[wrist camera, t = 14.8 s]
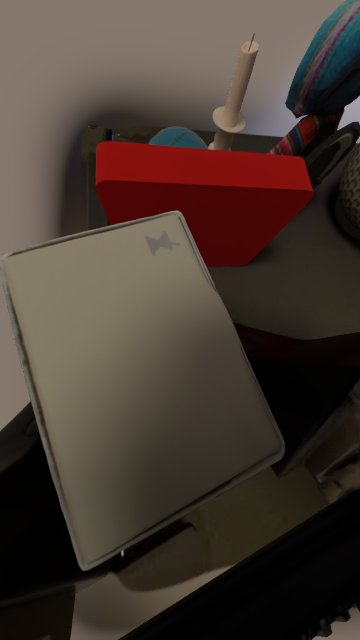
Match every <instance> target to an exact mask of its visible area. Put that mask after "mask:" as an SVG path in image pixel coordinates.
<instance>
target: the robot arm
mask: <svg viewBox="0 0 360 640" xmlns="http://www.w3.org/2000/svg"><path fill="white" fill-rule="evenodd" d="M233 325H234V327H235V330H236V332H237V335H238V337H239V340H240V342H241V344H242V347H243V349H244V352H245V354H246V356H247V359H248V361H249V363H250V365H251V368H252V370H253V372H254V374H255V376H256V379H257V381H258V383H259V385H260V388H261V390H262V392H263V394H264V396H265V399H266V401H267V403H268V406H269V408H270V410H271V412H272V415H273V417H274V419H275V422H276V424H277V426H278V428H279V430H280V433H281V435H282V437H283V439H284V442H285V452H284V455H283V457H282V459H281V460H279V461H277V462H276V463H274V464H272V465H271V468H272V469H273V471H274V472H275V474H276V475H277V477H278V478H281V477H283V476H285V475H287V474H288V473H290V472H292V471H294V470H296V469H297V468H299V467H301V466H303V465H304V466H305V467H306V468H307V470H308V471H309V472H310V474H311V475H312V476H313V478H314V479H315V480H316V482H317V483H318V485H317V487H318V489H319V490H320V492H321V493H322V494H323V496H324V497H325V498H326V500H327V501H328V502H329V504H330V505H329V506H327V507H325V508H324V509H322V510H321V511H319V512H318V513H316V514H314V515H313V516H311V517H310V518H308V519H307V520H305V521H303V522H302V523H300V524H299V525H297V526H296V527H294V528H293V529H291V530H289V531H288V532H286V533H285V534H283V535H282V536H280V537H278V538H277V539H275V540H274V541H272V542H271V543H269V544H267V545H266V546H264V547H263V548H261V549H260V550H258V551H256V552H255V553H253V554H252V555H250V556H249V557H247V558H245V559H244V560H242V561H241V562H239V563H238V564H236V565H234V566H233V567H231V568H230V569H228V570H227V571H225V572H224V573H222V574H220V575H219V576H217V577H216V578H214V579H213V580H211V581H209V582H208V583H206V584H205V585H203V586H201V587H200V588H198V589H197V590H195V591H194V592H192V593H190V594H189V595H188V596H186V597H184V598H183V599H181V600H180V601H178V602H176V603H175V604H173V605H172V606H170V607H169V608H167V609H165V610H164V611H162V612H161V613H159V614H158V615H156V616H154V617H153V618H151V619H150V620H148V621H147V622H145V623H143V624H142V625H140V626H139V627H137V628H136V629H134V630H132V631H131V632H129V633H128V634H126V635H125V636H123V637H121V638H120V639H118V640H312V639H313V638H314V637H315V636H321V637H328V636H329V635H330V634H331V633H332V630H331V623H333V622H334V621H338V622H346V621H348V620H349V619H350V618H351V617H350V615H349V612H348V610H349V609H350V608H352V607H357V608H358V610H359V611H360V332H356V333H350V334H344V335H338V336H332V337H326V338H320V339H313V340H300V339H294V338H289V337H285V336H281V335H277V334H273V333H269V332H265V331H262V330H258V329H254V328H251V327H247V326H244V325H241V324H238V323H235V322H233ZM108 562H109V559H107V560H106V561H104V562H102V563H101V564H99V565H97V566H95V567H93V568H91V569H89V570H87V571H83V570H82V569H81V568H80V566H79V565H78V562H77V558H76V554H75V551H74V547H73V544H72V540H71V537H70V534H69V530H68V527H67V523H66V520H65V518H64V515H63V512H62V509H61V505H60V501H59V497H58V494H57V491H56V488H55V485H54V482H53V479H52V475H51V472H50V468H49V465H48V461H47V456H46V452H45V450H44V447H43V443H42V440H41V436H40V432H39V428H38V425H37V421H36V417H35V414H34V410H33V407H32V403H31V402H30V403H29V404H28V405H27V406H26V407H25V408H24V409H23V410H22V411H21V412H20V413H19V414H18V415H17V416H16V417H15V418H14V419H13V420H11V421H10V423H8V424H7V425H6V427H4V428H3V429H2V430H1V431H0V640H70V637H71V628H72V619H73V609H74V601H75V593H77V592H79V591H81V590H82V589H84V588H86V587H88V586H89V585H91V584H93V583H95V582H97V581H98V580H100V579H102V578H104V577H106V576H107V575H108Z"/></svg>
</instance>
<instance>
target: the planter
mask: <svg viewBox="0 0 360 640" xmlns="http://www.w3.org/2000/svg"><path fill="white" fill-rule="evenodd" d="M335 215H336V218H337V221H338V223H339V224H340V226H341V227H342V228H343V229H344V230H345V231H346V232H347V233H348V234H349V235H351V236H352V237H354V238H356V239H359V240H360V143H359V144H358V146H357V147H356V148H355V150H354V151H353V153H352V154H351V156H350V157H349V159H348V161H347V163H346V164H345V166H344V168H343V171H342V174H341V177H340V181H339V196H338V198H337V200H336V203H335Z"/></svg>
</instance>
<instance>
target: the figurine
mask: <svg viewBox="0 0 360 640" xmlns="http://www.w3.org/2000/svg"><path fill="white" fill-rule="evenodd" d="M358 96H360V0H346V1H345V2H344V3H343V4H342V5H340V6H339V7H338V8H337V9H336V11H334V12H333V13H332V14H331V15H330V16H329V17H328V18H327V19H326V20H325V21H324V22H323V24H322V25H321V27H320V29H319V30H318V32H317V33H316V35H315V36H314V38H313V40H312V42H311V44H310V46H309V48H308V50H307V51H306V53H305V55H304V58H303V59H302V61H301V63H300V65H299V67H298V68H297V71H296V73H295V76H294V79H293V81H292V85H291V87H290V90H289V94H288V97H287V100H286V103H285V104H286V106H287V108H288V109H289V110H291V111H292V112H293V114H294V115H295V117H296V118H299V117H301V116H303V115H307V116H306V117H304V118H302V119H301V120H300V121H299V123H298V124H297V125H296V126H295V127H294V128H293V129H292V130H291V131H290V132H289V133H288V134H287V135H286V136H285V137H284V138H283V139H282V140H281V141H280V142H279V143H278V144H277V145H276V146H275V147H274V148H273V149H272V150H271V151H270V152H269V153H268V154H274V155H286V156H298V157H302V158H303V159H304V161H305V164H306V168H307V171H308V175H309V178H310V182H311V186H312V189H313V190H314V188H315V187H316V186H317V185H318V184H321V182H322V180H323V179H324V178H325V177H326V176H327V175H329V174H330V172H331V171H332V170H333V169H334V168H335V167H336V166H337V165H338V163H339V162H341V161H342V160H343V159H344V158H345V156H346V155H347V154H348V153H349V152H350V151H351V150H352V148H353V147H354V145H355V143H356V141H357V140H358V138H359V136H360V125H359V122H352V123H350V124H349V125H347V126H345V127H343V128H341V129H340V130H338V131H337V129H338V125H339V122H340V120H341V117H342V115H343V113H344V107H345V106H346V105H348V104H350V103H351V102H353V101H354V100H355V99H357V98H358Z"/></svg>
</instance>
